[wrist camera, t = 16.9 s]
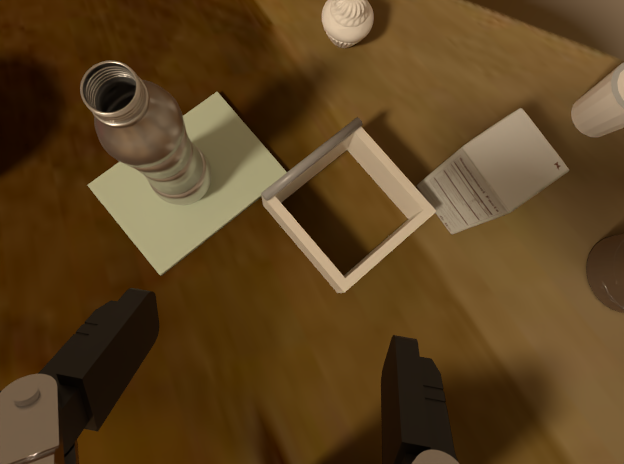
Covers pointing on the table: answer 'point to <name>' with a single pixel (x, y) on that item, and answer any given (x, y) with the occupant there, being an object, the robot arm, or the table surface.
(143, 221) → the mat
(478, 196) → the supplement box
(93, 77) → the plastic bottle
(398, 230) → the sleeve
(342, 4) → the muffin
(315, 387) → the table surface
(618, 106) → the shot glass
